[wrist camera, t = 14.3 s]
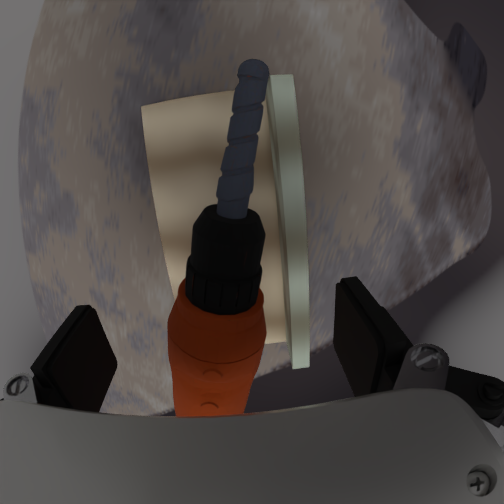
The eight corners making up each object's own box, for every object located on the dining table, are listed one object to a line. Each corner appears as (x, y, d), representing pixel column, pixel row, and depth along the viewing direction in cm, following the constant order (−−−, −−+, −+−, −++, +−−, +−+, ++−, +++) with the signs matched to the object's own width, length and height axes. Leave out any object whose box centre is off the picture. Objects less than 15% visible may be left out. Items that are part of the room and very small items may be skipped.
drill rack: (148, 109, 21) (122, 99, 16) (282, 90, 21) (295, 74, 16) (190, 338, 29) (182, 378, 23) (299, 327, 29) (311, 366, 23)
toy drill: (283, 94, 18) (373, 65, 5) (244, 314, 27) (246, 470, 13) (213, 84, 18) (145, 30, 4) (191, 307, 26) (161, 462, 13)
